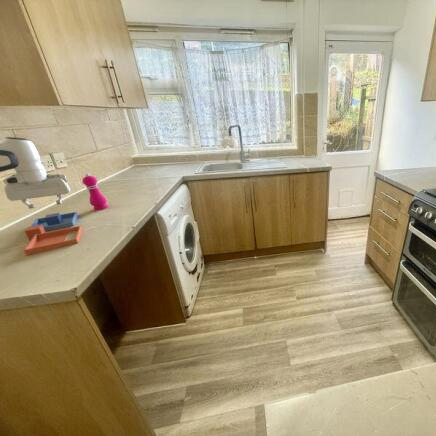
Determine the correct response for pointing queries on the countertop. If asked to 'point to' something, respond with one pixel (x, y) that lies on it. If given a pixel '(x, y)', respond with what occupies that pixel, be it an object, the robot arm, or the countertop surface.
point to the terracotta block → (34, 231)
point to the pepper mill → (94, 193)
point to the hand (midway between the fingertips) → (46, 206)
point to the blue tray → (67, 219)
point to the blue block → (53, 219)
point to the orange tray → (52, 240)
